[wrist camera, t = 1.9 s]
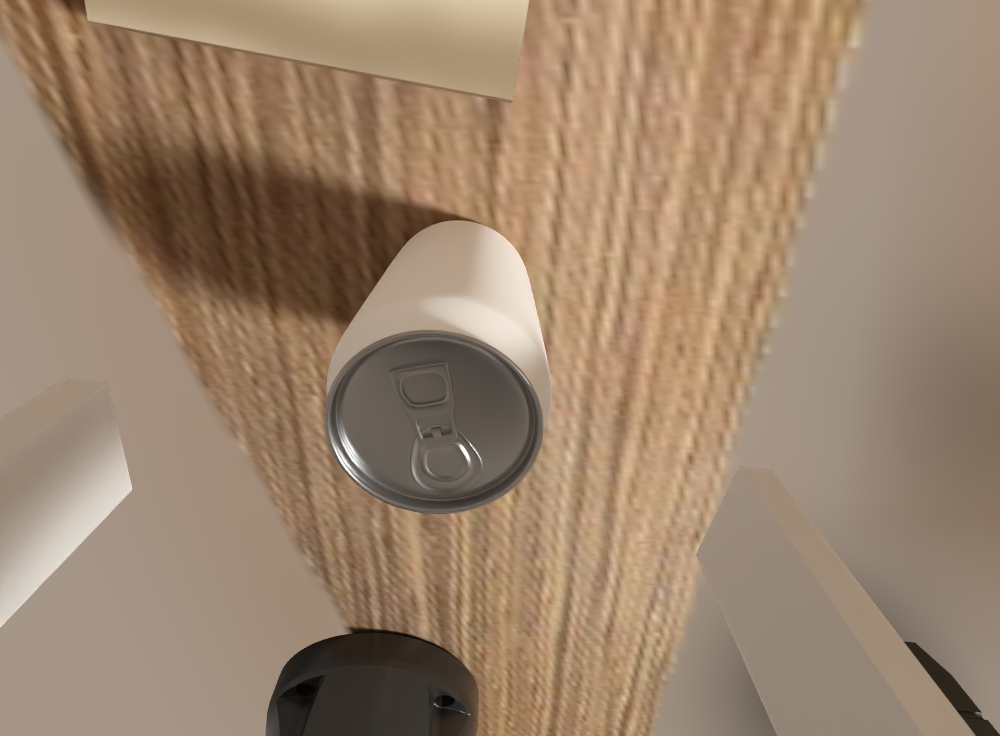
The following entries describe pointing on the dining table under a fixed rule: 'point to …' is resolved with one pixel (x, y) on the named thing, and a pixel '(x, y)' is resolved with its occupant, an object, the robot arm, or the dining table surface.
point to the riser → (350, 35)
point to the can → (442, 375)
